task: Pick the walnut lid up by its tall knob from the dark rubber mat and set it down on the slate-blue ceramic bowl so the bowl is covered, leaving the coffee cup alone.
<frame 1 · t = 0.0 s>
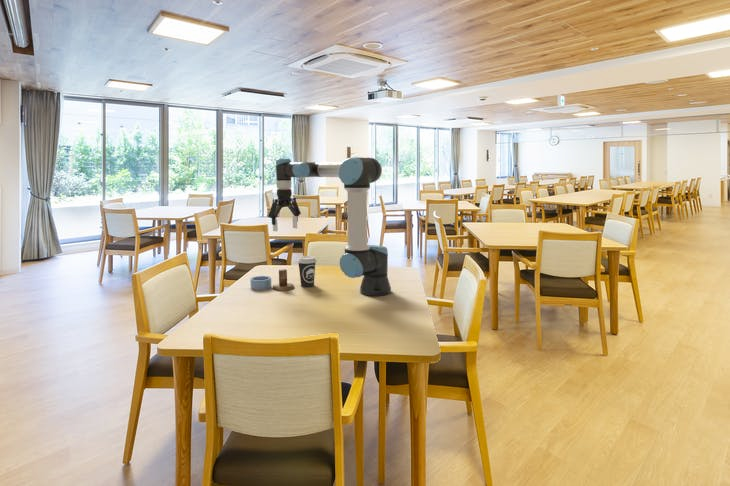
hand: (285, 229, 245), 28 cm above the table, fingers open, 13 cm apart
bowl: (261, 287, 238), on the table
lid: (283, 287, 236), resting on mat
coffee cup: (307, 286, 241), on the table
mat: (283, 288, 236), on the table
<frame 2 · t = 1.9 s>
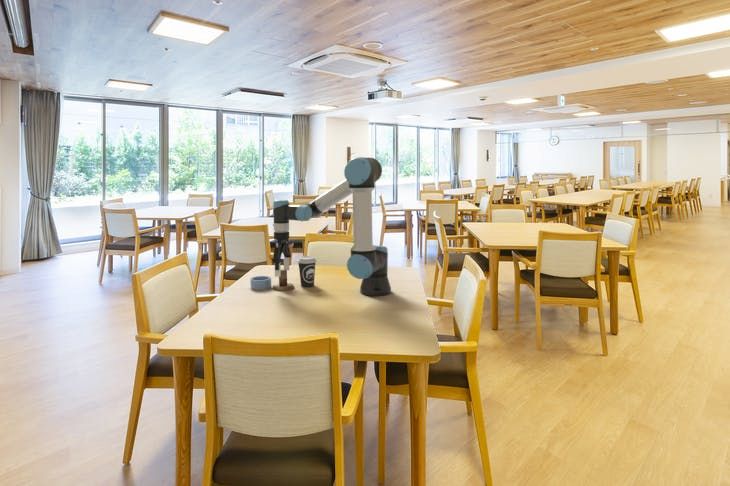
hand: (282, 273, 235), 8 cm above the table, fingers open, 13 cm apart
nothing on the table moved.
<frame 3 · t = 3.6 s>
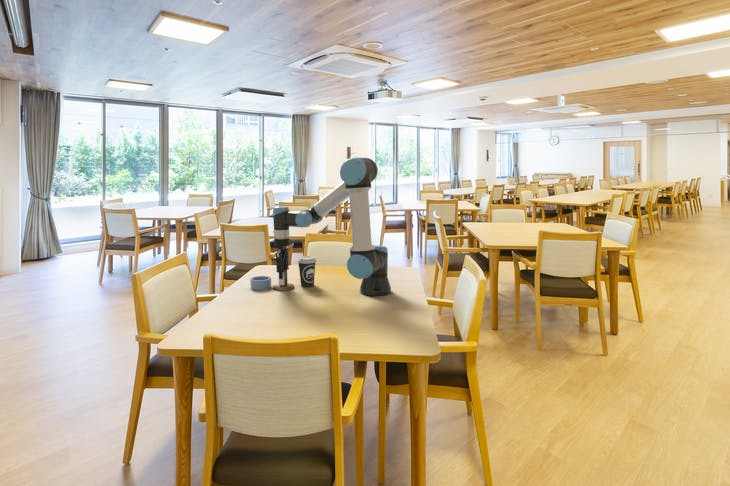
hand: (283, 283, 236), 3 cm above the table, fingers closed on lid, 4 cm apart
lid: (283, 287, 236), resting on mat, touching gripper
everything else where it was.
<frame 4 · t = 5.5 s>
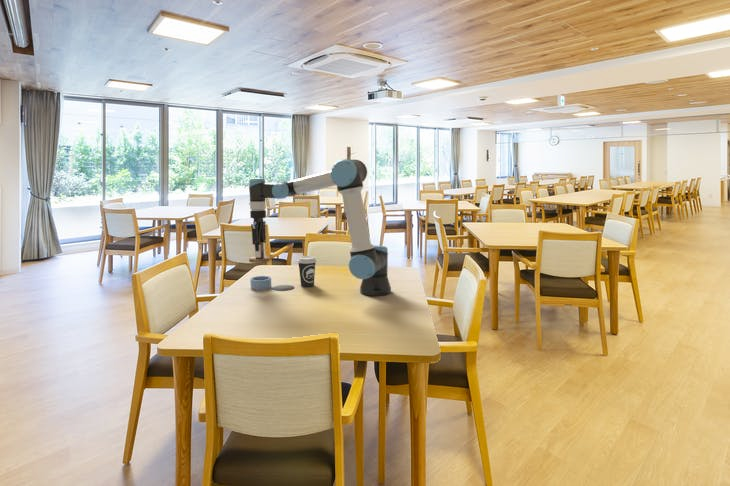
hand: (259, 256, 235), 16 cm above the table, fingers closed on lid, 4 cm apart
lid: (259, 260, 235), point 14 cm above the table, touching gripper
everything else where it was.
when the fingers open (9 cm above the table, at t = 7.4 s): lid drops 2 cm, resting on bowl.
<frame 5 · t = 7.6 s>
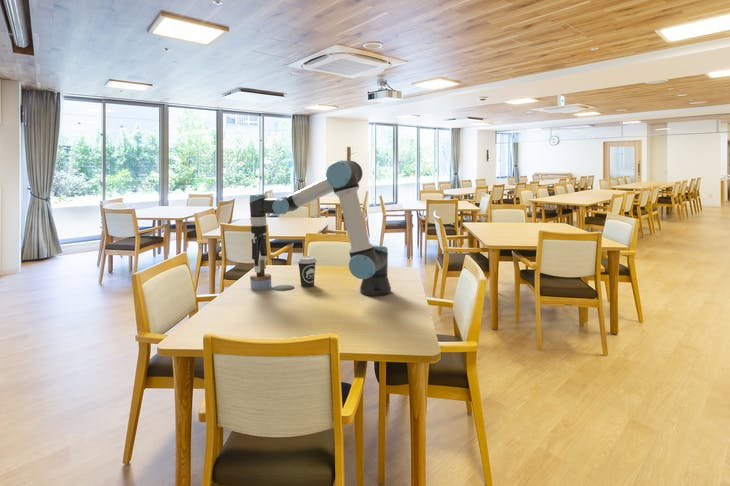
hand: (260, 270, 236), 9 cm above the table, fingers open, 7 cm apart
lid: (260, 278, 237), point 5 cm above the table, touching bowl
everything else where it was.
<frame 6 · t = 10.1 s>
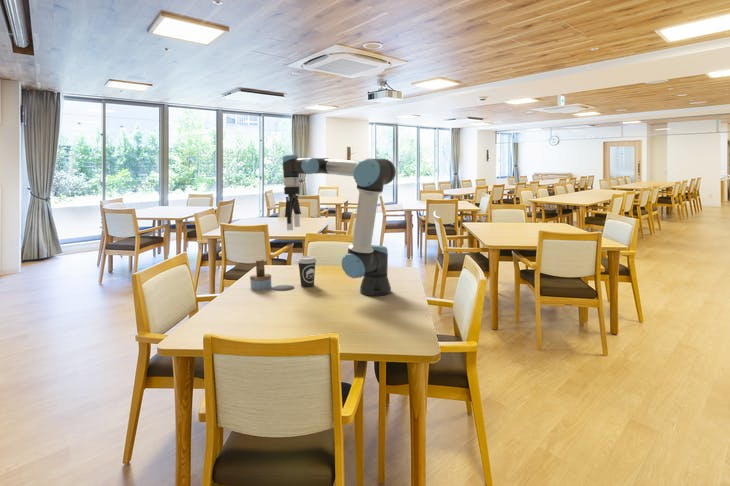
hand: (293, 228, 237), 30 cm above the table, fingers open, 13 cm apart
nothing on the table moved.
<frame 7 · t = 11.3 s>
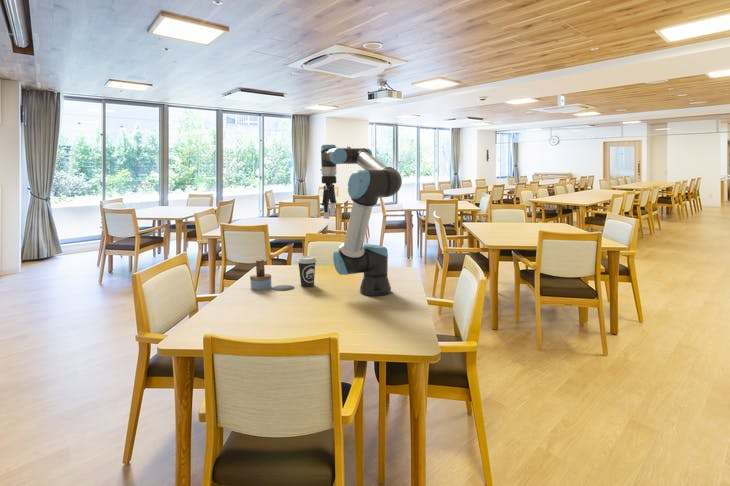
hand: (329, 217, 242), 35 cm above the table, fingers open, 13 cm apart
nothing on the table moved.
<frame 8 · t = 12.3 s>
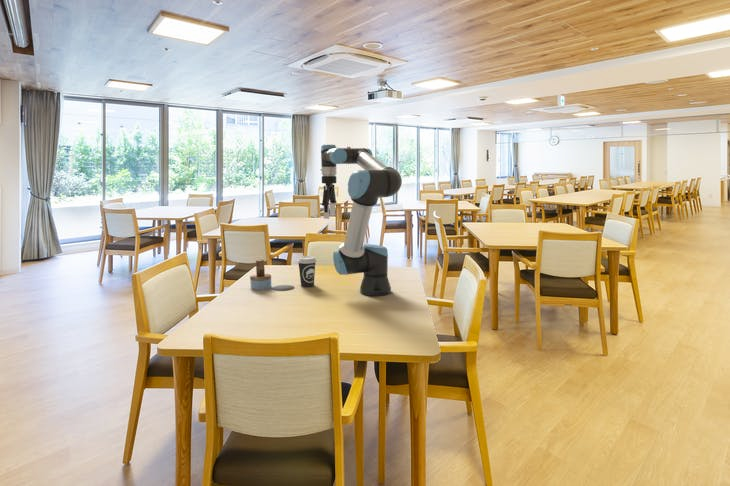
hand: (329, 217, 242), 35 cm above the table, fingers open, 13 cm apart
nothing on the table moved.
at the end: lid 0.0 cm off-centre on the bowl, point 5.0 cm above the bowl's base; lid tilted 0°; the gripper is holding nothing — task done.
